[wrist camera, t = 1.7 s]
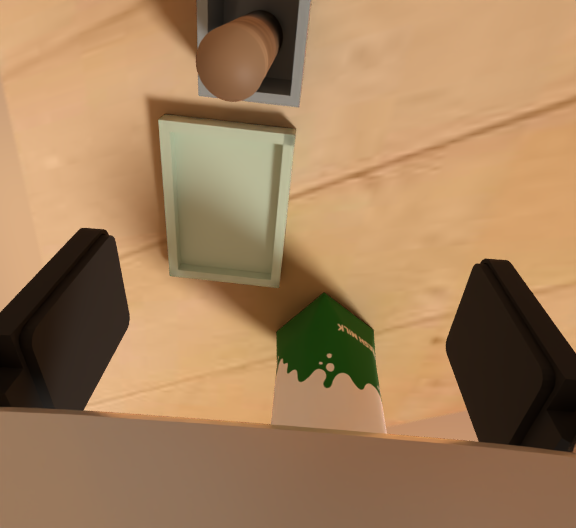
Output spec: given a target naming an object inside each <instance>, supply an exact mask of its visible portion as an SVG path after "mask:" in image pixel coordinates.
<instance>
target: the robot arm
mask: <svg viewBox="0 0 576 528" xmlns="http://www.w3.org/2000/svg"><path fill="white" fill-rule="evenodd" d="M129 320H130V316H129V310H128V304H127V299H126V294H125V289H124V283H123V278H122V273H121V268H120V262H119V257H118V252H117V246H116V241H115V238H114V237H113V236H110V235H109V234H108V232H107V231H106V230H104V229H91V228H81V229H80V230H78V231H77V233H76V234H75V235H74V236H73V237H72V238H71V239H70V240H69V241H68V242H67V243H66V244H65V245H64V246H63V247H62V248H61V249H60V250H59V251H58V252H57V253H56V255H55V256H54V257H53V258H52V259H51V260H50V261H49V262H48V263H47V264H46V265H45V266H44V267H43V268H42V269H41V270H40V271H39V272H38V274H36V276H35V277H34V278H33V279H32V280H31V281H30V282H29V283H28V284H27V285H26V286H25V287H24V288H23V289H22V290H21V291H20V292H19V293H18V294H17V295H16V296H15V298H14V299H13V300H12V301H11V302H10V303H9V304H8V305H7V306H6V307H5V308H4V309H3V310H2V311H1V312H0V528H576V353H575V352H574V350H573V349H572V348H571V346H570V345H569V343H568V342H567V341H566V339H565V338H564V336H563V335H562V334H561V332H560V331H559V329H558V328H557V327H556V325H555V324H554V323H553V321H552V320H551V318H550V317H549V316H548V314H547V313H546V311H545V310H544V309H543V307H542V306H541V304H540V303H539V302H538V300H537V299H536V297H535V296H534V295H533V293H532V292H531V290H530V289H529V288H528V286H527V285H526V283H525V282H524V281H523V279H522V278H521V276H520V275H519V274H518V272H517V271H516V269H515V268H514V267H513V265H512V264H511V263H510V262H509V261H507V260H496V259H484V260H482V261H481V263H480V264H475V265H474V266H473V269H472V271H471V274H470V277H469V279H468V282H467V285H466V288H465V290H464V293H463V296H462V299H461V301H460V304H459V307H458V310H457V313H456V315H455V318H454V321H453V324H452V326H451V329H450V332H449V335H448V337H447V341H446V352H447V356H448V358H449V361H450V364H451V367H452V369H453V372H454V375H455V378H456V380H457V383H458V386H459V389H460V391H461V394H462V397H463V400H464V402H465V405H466V408H467V410H468V413H469V416H470V419H471V421H472V424H473V427H474V429H475V432H476V435H477V438H478V441H479V442H474V441H465V440H454V439H441V438H430V437H419V436H407V435H395V434H384V433H372V432H360V431H348V430H336V429H323V428H311V427H298V426H286V425H273V424H260V423H248V422H235V421H222V420H209V419H195V418H182V417H168V416H155V415H141V414H128V413H114V412H99V411H83V410H84V408H85V406H86V405H87V403H88V401H89V399H90V397H91V395H92V393H93V392H94V390H95V388H96V386H97V384H98V382H99V380H100V379H101V377H102V375H103V373H104V371H105V369H106V367H107V366H108V364H109V362H110V360H111V358H112V356H113V354H114V353H115V351H116V349H117V347H118V345H119V343H120V341H121V340H122V338H123V336H124V334H125V332H126V330H127V328H128V325H129Z"/></svg>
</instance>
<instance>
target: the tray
mask: <svg viewBox="0 0 576 528" xmlns="http://www.w3.org/2000/svg"><path fill="white" fill-rule="evenodd" d="M158 123H159V137H160V150H161V164H162V178H163V192H164V205H165V219H166V233H167V246H168V260H169V274H170V276H173V277H182V278H192V279H201V280H210V281H219V282H228V283H237V284H246V285H255V286H264V287H273V288H279V284H280V276H281V266H282V257H283V248H284V238H285V229H286V219H287V210H288V200H289V191H290V181H291V172H292V163H293V153H294V144H295V134H296V129H293V128H284V127H275V126H267V125H258V124H249V123H240V122H231V121H222V120H214V119H205V118H196V117H187V116H178V115H169V114H164V115H163V116H162V117H161V118H160V119H158Z"/></svg>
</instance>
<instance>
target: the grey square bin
mask: <svg viewBox="0 0 576 528" xmlns="http://www.w3.org/2000/svg"><path fill="white" fill-rule="evenodd" d="M310 7H311V0H197V46H198V47H199V44H200V42H201V41H202V39H203V38H204V37H205V35H206V34H208V33H209V32H210V31H212V30H213V29H215V28H217V27H220V26H222V25H224V24H226V23H228V22H231V21H233V20H235V19H237V18H239V17H242V16H244V15H246V14H248V13H250V12H253V11H256V10H263V11H267V12H269V13H271V14H272V15H274V16H275V17H276V18H277V20H278V21H279V23H280V25H281V27H282V31H283V42H282V46H281V48H280V50H279V52H278V54H277V56H276V57H275V59H274V61H273V63H272V65H271V67H270V69H269V70H268V72H267V74H266V76H265V78H264V80H263V81H262V83H261V85H260V87H259V88H258V90H257V91H256V92H255V93H254V94H253V95H252V96H250V97H249V98H247V99H245V100H242V101H248V102H257V103H266V104H274V105H283V106H292V107H299V105H300V98H301V90H302V81H303V72H304V63H305V54H306V44H307V35H308V26H309V16H310ZM198 95H199V96H204V97H213V98H217V97H216V96H214V95H213V94H212V93H210V92H209V91H208V90H207V89H206V87H205V86H204V85H203V83H202V82H201V80H200V77H199V75H198Z"/></svg>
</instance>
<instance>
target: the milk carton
mask: <svg viewBox="0 0 576 528" xmlns="http://www.w3.org/2000/svg"><path fill="white" fill-rule="evenodd" d="M276 333H277V370H276V380H275V390H274V400H273V409H272V419H271V424H273V425H286V426H298V427H311V428H323V429H336V430H348V431H360V432H372V433H384V434H387V432H386V425H385V419H384V413H383V406H382V400H381V394H380V387H379V381H378V375H377V368H376V358H375V344H374V330H373V329H372V328H370V327H369V326H368V325H366V324H365V323H364V322H362V321H361V320H360V319H359V318H357V317H356V316H355V315H353V314H352V313H351V312H349V311H348V310H347V309H345V308H344V307H343V306H341V305H340V304H339V303H337V302H336V301H335V300H334V299H332V298H331V297H330V296H328V295H327V294H326V293H323V294H322V295H320V296H319V297H318V298H317V299H316V300H314V301H313V302H312V303H311V304H309V305H308V306H307V307H306V308H305V309H303V310H302V311H301V312H300V313H299V314H297V315H296V316H295V317H294V318H293V319H291V320H290V321H289V322H288V323H287V324H285V325H284V326H283V327H282V328H281V329H279V330H278V331H277V332H276Z"/></svg>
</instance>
